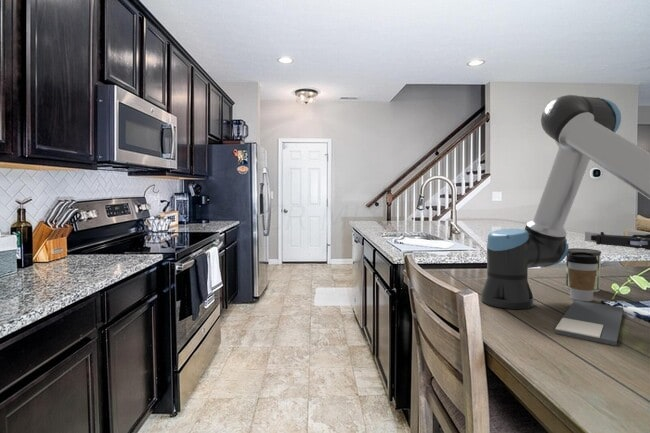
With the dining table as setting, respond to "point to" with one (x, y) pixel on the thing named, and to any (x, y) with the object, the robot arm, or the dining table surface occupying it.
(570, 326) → the mat
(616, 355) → the dining table surface
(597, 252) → the coffee can
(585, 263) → the coffee cup
